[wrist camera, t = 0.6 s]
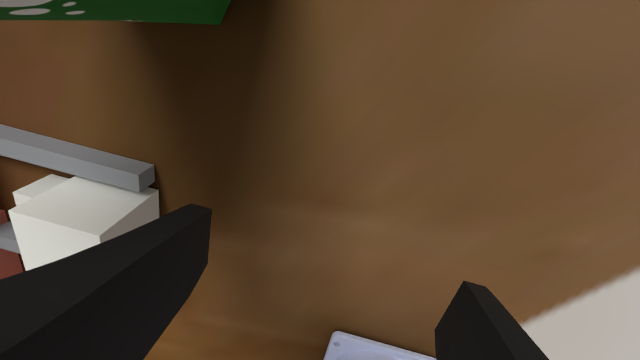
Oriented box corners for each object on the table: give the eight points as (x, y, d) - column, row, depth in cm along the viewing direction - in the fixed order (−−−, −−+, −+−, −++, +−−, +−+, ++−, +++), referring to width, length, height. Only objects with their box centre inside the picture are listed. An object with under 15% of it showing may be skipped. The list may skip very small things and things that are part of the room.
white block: (160, 259, 23) (110, 315, 19) (63, 232, 24) (-8, 281, 19) (158, 189, 21) (99, 235, 16) (48, 160, 21) (-39, 197, 17)
